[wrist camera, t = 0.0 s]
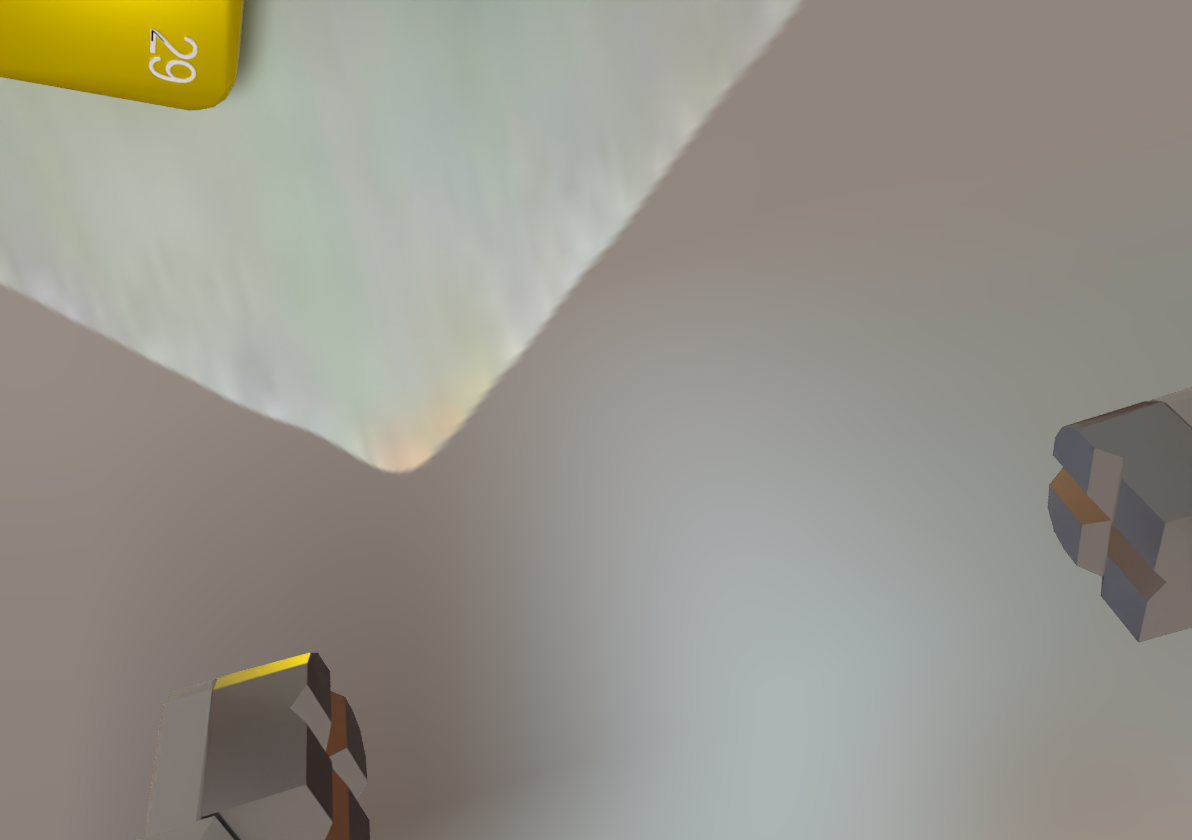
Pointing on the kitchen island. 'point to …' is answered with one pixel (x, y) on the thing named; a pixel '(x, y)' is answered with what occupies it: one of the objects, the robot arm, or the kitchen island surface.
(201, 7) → the element tile
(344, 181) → the kitchen island surface
